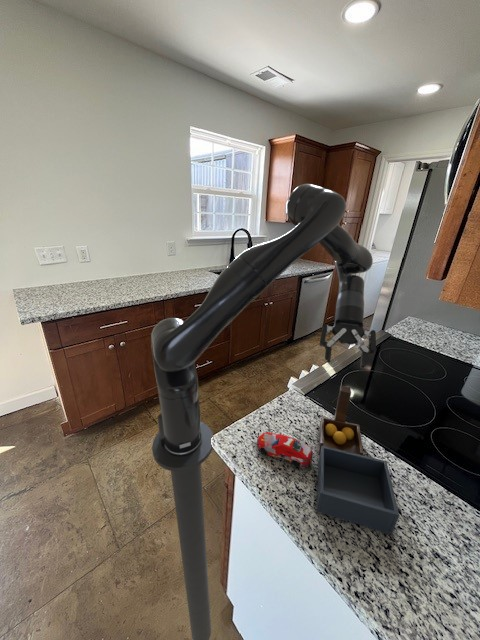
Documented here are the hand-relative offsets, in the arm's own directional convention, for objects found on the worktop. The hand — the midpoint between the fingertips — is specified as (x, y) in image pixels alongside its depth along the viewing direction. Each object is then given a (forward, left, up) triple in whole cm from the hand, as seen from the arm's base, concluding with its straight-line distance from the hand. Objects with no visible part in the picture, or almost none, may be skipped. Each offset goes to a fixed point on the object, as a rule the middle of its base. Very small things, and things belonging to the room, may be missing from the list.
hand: (345, 364), depth 71 cm
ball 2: (0, -13, -14) cm, 18 cm away
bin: (+2, -25, -16) cm, 30 cm away
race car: (-13, -19, -16) cm, 28 cm away
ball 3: (+2, -10, -14) cm, 17 cm away
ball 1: (-2, -10, -14) cm, 17 cm away
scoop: (0, -11, -16) cm, 20 cm away
